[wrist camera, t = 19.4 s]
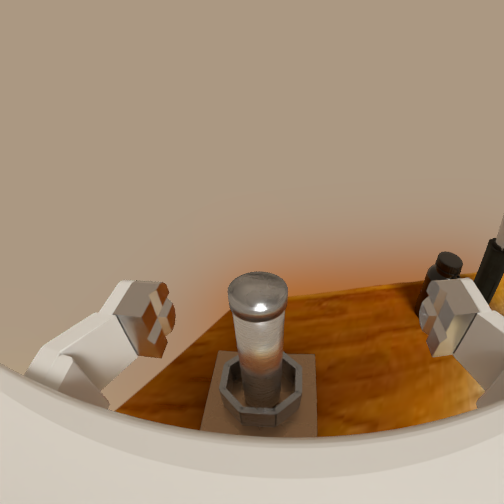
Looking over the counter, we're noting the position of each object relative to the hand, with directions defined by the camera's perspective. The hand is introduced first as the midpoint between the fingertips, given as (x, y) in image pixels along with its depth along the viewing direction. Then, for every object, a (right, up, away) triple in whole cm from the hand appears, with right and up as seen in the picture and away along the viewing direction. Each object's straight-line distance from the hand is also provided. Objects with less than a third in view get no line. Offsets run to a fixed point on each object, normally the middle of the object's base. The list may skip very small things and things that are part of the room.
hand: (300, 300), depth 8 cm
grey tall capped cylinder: (0, -17, +25) cm, 30 cm away
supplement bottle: (+31, -10, +36) cm, 49 cm away
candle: (+47, -9, +37) cm, 60 cm away
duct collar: (0, -18, +26) cm, 31 cm away
